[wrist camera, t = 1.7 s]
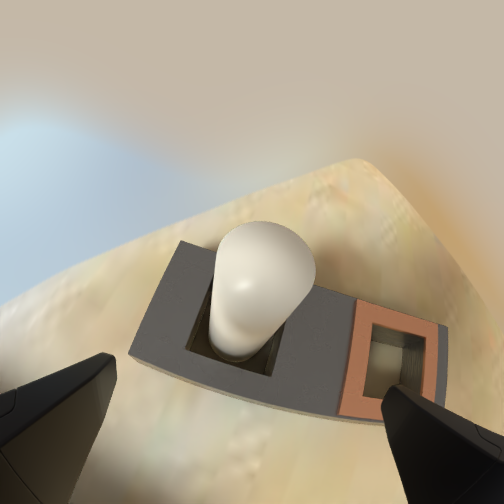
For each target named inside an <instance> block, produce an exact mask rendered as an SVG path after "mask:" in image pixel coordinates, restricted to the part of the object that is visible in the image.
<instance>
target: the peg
mask: <svg viewBox="0 0 504 504" xmlns="http://www.w3.org/2000/svg"><path fill="white" fill-rule="evenodd" d="M315 275H316V266H315V261H314V258H313V255H312V253H311V251H310V249H309V247H308V246H307V244H306V243H305V242H304V241H303V240H302V238H301V237H300V236H298V235H297V234H296V233H295V232H293V231H292V230H290V229H288V228H286V227H284V226H282V225H279V224H276V223H272V222H266V221H254V222H248V223H245V224H242V225H239V226H237V227H236V228H234V229H232V230H231V231H230V232H228V234H227V235H226V236H225V237H224V238H223V239H222V241H221V243H220V245H219V247H218V250H217V255H216V263H215V272H214V281H213V291H212V301H211V311H210V322H209V333H208V338H209V343H210V346H211V348H212V349H213V351H214V352H215V353H216V354H217V355H218V356H219V357H221V358H222V359H224V360H227V361H230V362H242V361H246V360H248V359H250V358H252V357H253V356H254V355H255V354H256V353H257V352H258V351H259V350H260V349H261V347H262V346H263V345H264V344H265V343H266V342H267V341H268V340H269V339H270V337H271V336H272V335H273V334H274V333H275V332H276V331H277V330H278V328H279V327H280V326H281V325H282V324H283V323H284V322H285V320H286V319H287V318H288V317H289V316H290V315H291V313H292V312H293V311H294V310H295V309H296V307H297V306H298V305H299V304H300V303H301V302H302V300H303V299H304V298H305V297H306V296H307V294H308V293H309V291H310V290H311V288H312V286H313V284H314V280H315Z"/></svg>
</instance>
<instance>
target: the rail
mask: <svg viewBox="0 0 504 504" xmlns="http://www.w3.org/2000/svg"><path fill="white" fill-rule="evenodd" d="M216 255H217V252H214V251H211V250H208V249H205V248H202V247H199V246H196V245H193V244H190V243H187V242H184V241H180V243H179V245H178V247H177V249H176V251H175V253H174V255H173V257H172V259H171V261H170V263H169V265H168V267H167V269H166V271H165V273H164V275H163V277H162V279H161V281H160V283H159V285H158V287H157V289H156V291H155V294H154V296H153V298H152V300H151V302H150V304H149V306H148V309H147V311H146V313H145V315H144V318H143V320H142V322H141V324H140V327H139V329H138V331H137V333H136V336H135V338H134V340H133V343H132V345H131V347H130V350H129V352H128V354H129V355H130V356H131V357H132V358H133V359H135V360H136V361H137V362H139V363H141V364H143V365H145V366H148V367H150V368H152V369H155V370H157V371H160V372H162V373H165V374H167V375H170V376H172V377H175V378H177V379H180V380H183V381H185V382H188V383H191V384H193V385H196V386H199V387H202V388H205V389H208V390H211V391H214V392H217V393H220V394H223V395H226V396H230V397H233V398H236V399H240V400H243V401H247V402H251V403H254V404H258V405H262V406H266V407H270V408H274V409H278V410H282V411H287V412H292V413H296V414H301V415H306V416H312V417H317V418H323V419H329V420H335V421H342V422H350V423H358V424H367V425H377V426H385V425H384V421H383V417H382V412H381V403H382V401H383V399H377V398H370V397H364V396H363V391H364V385H365V378H366V372H367V365H368V358H369V350H370V341H371V340H373V341H376V342H380V343H384V344H388V345H392V346H396V347H401V348H403V356H402V367H401V377H400V385H402V386H404V387H406V388H408V389H410V390H412V391H413V392H415V393H417V394H419V395H421V396H423V397H425V398H426V399H428V400H430V401H432V402H434V403H436V404H438V405H440V406H441V407H443V408H444V407H445V397H446V385H447V368H448V327H446V326H443V325H440V324H436V323H433V322H430V321H427V320H424V319H420V318H417V317H414V316H411V315H407V314H404V313H401V312H398V311H395V310H391V309H388V308H385V307H382V306H379V305H376V304H372V303H369V302H366V301H363V300H360V299H357V298H354V297H350V296H347V295H344V294H341V293H338V292H335V291H332V290H329V289H326V288H322V287H319V286H316V285H313V286H312V288H311V290H310V291H309V293H308V294H307V296H306V297H305V298H304V299H303V300H302V302H301V303H300V304H299V305H298V306H297V307H296V309H295V310H294V311H293V312H292V313H291V315H290V316H289V317H288V318H287V319H286V320H285V322H284V323H283V324H282V325H281V326H280V327H279V328H278V330H277V331H276V332H275V336H274V340H273V343H272V347H271V351H270V354H269V358H268V362H267V365H266V369H265V372H264V375H261V374H258V373H254V372H251V371H248V370H244V369H241V368H238V367H235V366H232V365H228V364H225V363H222V362H219V361H216V360H213V359H210V358H207V357H205V356H202V355H199V354H196V353H193V352H191V351H190V348H191V345H192V342H193V340H194V337H195V335H196V332H197V329H198V327H199V324H200V321H201V319H202V316H203V313H204V311H205V308H206V306H207V303H208V300H209V298H210V295H211V293H212V291H213V281H214V272H215V263H216Z"/></svg>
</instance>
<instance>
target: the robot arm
mask: <svg viewBox="0 0 504 504" xmlns="http://www.w3.org/2000/svg"><path fill="white" fill-rule="evenodd" d="M116 381H117V370H116V359H115V357H114V355H111V354H107V353H104V352H102V353H99V354H97V355H95V356H92V357H90V358H88V359H85V360H83V361H81V362H78V363H76V364H74V365H71V366H69V367H67V368H64V369H62V370H60V371H57V372H55V373H52V374H50V375H48V376H45V377H43V378H40V379H38V380H35V381H33V382H31V383H28V384H26V385H23V386H21V387H18V388H17V390H16V389H13V390H10V391H8V392H5V393H2V394H0V504H68V503H69V500H70V498H71V495H72V493H73V490H74V488H75V485H76V483H77V480H78V478H79V475H80V473H81V471H82V468H83V466H84V464H85V461H86V459H87V457H88V454H89V452H90V450H91V448H92V445H93V443H94V441H95V439H96V437H97V434H98V432H99V430H100V428H101V426H102V423H103V421H104V418H105V415H106V412H107V409H108V406H109V403H110V400H111V397H112V394H113V391H114V388H115V385H116ZM381 412H382V417H383V421H384V425H385V429H386V433H387V438H388V442H389V445H390V448H391V451H392V454H393V457H394V460H395V463H396V466H397V469H398V472H399V475H400V478H401V481H402V485H403V488H404V491H405V494H406V498H407V501H408V504H504V436H502V435H499V434H497V433H494V432H492V431H490V430H487V429H485V428H483V427H481V426H479V425H477V424H474V423H473V422H471V421H469V420H467V419H465V418H463V417H461V416H459V415H457V414H455V413H453V412H451V411H449V410H447V409H445V408H443V407H441V406H440V405H438V404H436V403H434V402H432V401H430V400H428V399H426V398H425V397H423V396H421V395H419V394H417V393H415V392H413V391H412V390H410V389H408V388H406V387H404V386H402V385H393V386H391V387H390V388H389V390H388V391H387V393H386V395H385V397H384V399H383V401H382V403H381Z"/></svg>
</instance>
